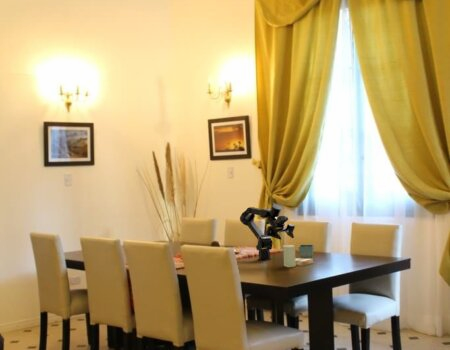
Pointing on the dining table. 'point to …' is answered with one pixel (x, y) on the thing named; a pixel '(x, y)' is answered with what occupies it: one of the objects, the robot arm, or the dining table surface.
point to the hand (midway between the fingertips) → (287, 238)
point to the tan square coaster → (303, 261)
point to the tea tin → (289, 256)
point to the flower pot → (306, 251)
